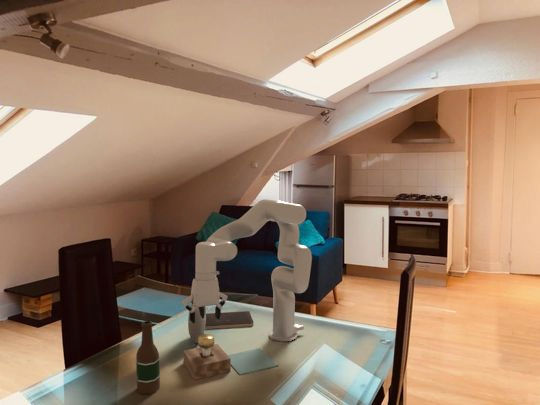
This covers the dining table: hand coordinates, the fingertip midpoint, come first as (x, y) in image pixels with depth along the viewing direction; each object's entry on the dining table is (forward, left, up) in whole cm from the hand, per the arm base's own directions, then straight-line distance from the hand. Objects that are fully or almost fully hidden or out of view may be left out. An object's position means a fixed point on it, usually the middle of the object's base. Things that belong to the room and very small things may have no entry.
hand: (205, 320), depth 164 cm
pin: (0, 0, -19) cm, 19 cm away
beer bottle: (+23, +6, -19) cm, 30 cm away
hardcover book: (-24, -39, -20) cm, 50 cm away
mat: (-17, +3, -19) cm, 26 cm away
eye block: (0, 0, -19) cm, 19 cm away
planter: (-4, -24, -19) cm, 31 cm away
